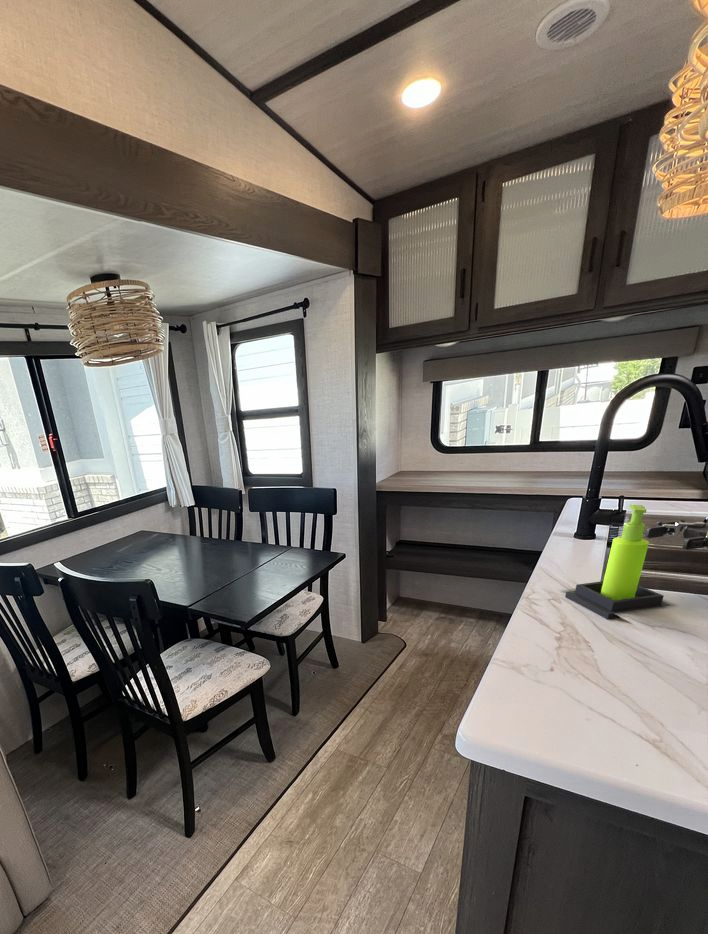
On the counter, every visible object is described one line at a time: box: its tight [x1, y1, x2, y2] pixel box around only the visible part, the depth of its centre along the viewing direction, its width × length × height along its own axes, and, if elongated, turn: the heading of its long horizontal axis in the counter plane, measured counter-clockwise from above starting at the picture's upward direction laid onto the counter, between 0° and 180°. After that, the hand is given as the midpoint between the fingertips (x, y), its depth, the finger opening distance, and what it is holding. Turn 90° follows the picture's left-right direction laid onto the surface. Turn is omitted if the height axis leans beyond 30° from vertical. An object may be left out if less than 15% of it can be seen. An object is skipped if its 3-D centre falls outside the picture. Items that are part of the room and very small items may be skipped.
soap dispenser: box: [601, 504, 650, 600], centre depth 97 cm, size 6×7×20 cm
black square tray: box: [564, 580, 670, 620], centre depth 101 cm, size 14×12×3 cm
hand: (665, 538), depth 97 cm, fingers open, 8 cm apart
